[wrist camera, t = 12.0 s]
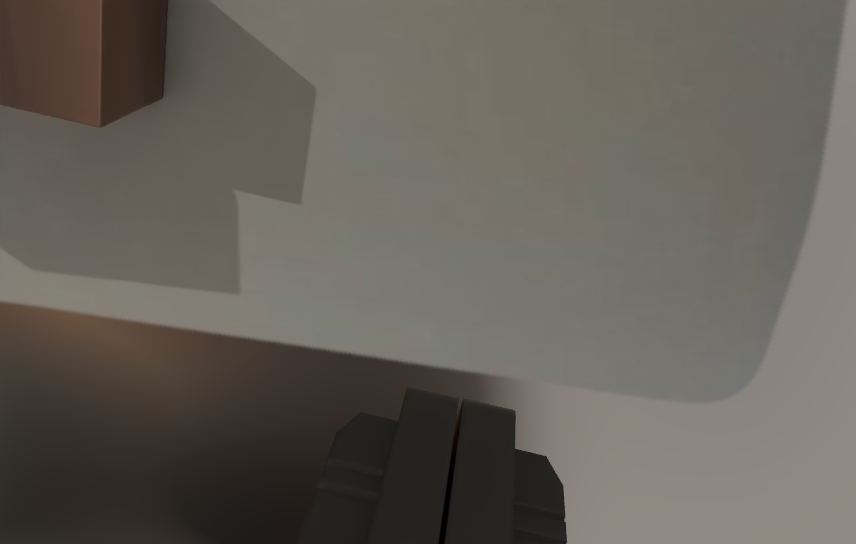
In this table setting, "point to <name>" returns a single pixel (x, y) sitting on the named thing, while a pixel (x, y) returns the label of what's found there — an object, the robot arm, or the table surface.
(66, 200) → the table surface
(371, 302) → the table surface
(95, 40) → the walnut block
